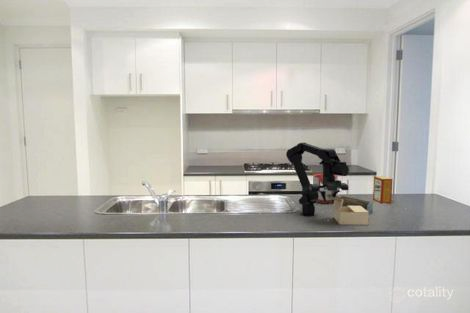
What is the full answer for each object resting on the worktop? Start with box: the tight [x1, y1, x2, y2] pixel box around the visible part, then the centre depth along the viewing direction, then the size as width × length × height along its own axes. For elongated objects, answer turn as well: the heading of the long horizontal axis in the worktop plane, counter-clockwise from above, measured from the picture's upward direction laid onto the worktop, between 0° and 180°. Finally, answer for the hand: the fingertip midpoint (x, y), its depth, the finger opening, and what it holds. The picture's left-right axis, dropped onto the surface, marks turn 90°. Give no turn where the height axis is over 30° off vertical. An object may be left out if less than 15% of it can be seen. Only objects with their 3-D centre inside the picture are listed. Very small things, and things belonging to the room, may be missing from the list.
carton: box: [333, 206, 370, 226], centre depth 159 cm, size 14×11×7 cm
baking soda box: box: [372, 175, 393, 205], centre depth 196 cm, size 10×6×16 cm
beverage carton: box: [340, 195, 374, 214], centre depth 179 cm, size 8×19×7 cm, turn 43°
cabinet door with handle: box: [327, 193, 344, 213], centre depth 159 cm, size 7×11×6 cm
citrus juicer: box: [312, 172, 339, 204], centre depth 196 cm, size 16×17×20 cm
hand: (328, 203), depth 158 cm, fingers open, 3 cm apart
